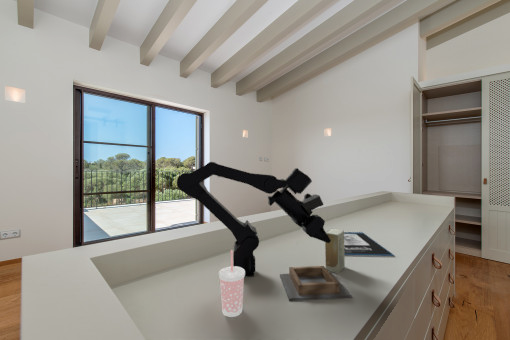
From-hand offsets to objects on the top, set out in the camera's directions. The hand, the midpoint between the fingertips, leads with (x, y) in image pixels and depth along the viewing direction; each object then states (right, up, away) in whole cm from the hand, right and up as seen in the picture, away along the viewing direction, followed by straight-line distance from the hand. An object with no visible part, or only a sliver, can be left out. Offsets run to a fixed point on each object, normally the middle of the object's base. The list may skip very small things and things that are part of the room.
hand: (324, 237), depth 73 cm
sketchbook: (+19, -11, +25) cm, 34 cm away
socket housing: (-7, -10, -11) cm, 16 cm away
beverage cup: (-28, -11, -21) cm, 37 cm away
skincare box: (+4, -11, 0) cm, 11 cm away
